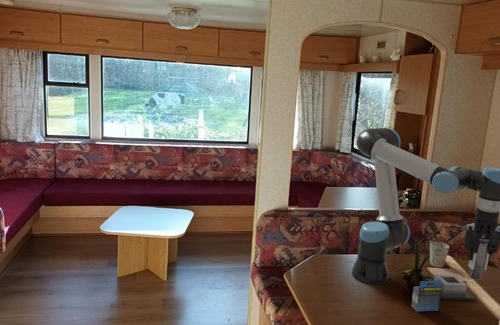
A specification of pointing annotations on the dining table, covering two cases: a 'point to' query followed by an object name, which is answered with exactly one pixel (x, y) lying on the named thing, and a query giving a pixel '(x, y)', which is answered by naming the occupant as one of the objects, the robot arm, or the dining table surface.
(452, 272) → the rubber mat
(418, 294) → the label tape cartridge
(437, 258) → the mug
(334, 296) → the dining table surface
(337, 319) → the dining table surface
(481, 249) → the key peg
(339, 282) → the dining table surface
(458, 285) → the chuck block
